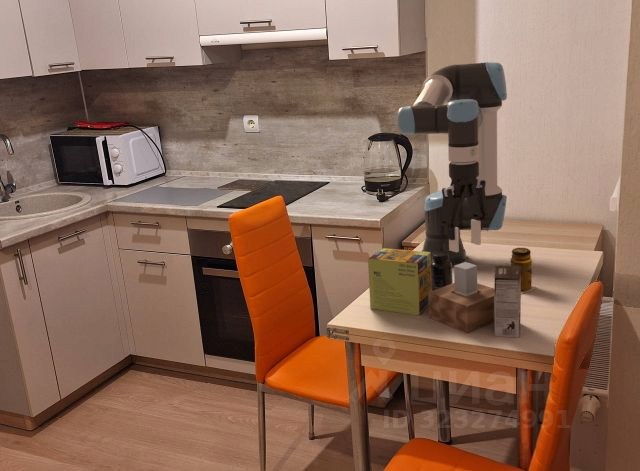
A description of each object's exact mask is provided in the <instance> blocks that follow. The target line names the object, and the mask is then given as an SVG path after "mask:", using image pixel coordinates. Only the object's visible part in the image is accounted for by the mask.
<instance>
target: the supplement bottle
mask: <svg viewBox="0 0 640 471" xmlns="http://www.w3.org/2000/svg"><path fill="white" fill-rule="evenodd" d="M448 259H449V257H448V253H447V252H445V251H436V252H433V253H432V260H433V261H432V262H431V284H432V291H434V290H436V289H439V288H442V287H445V286H447V285H450V284H453V283H454V279H453V278H454V277H453V264H451V262H450V261H448Z"/></svg>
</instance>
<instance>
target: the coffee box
mask: <svg viewBox="0 0 640 471" xmlns="http://www.w3.org/2000/svg"><path fill="white" fill-rule="evenodd" d="M493 279H494V281H493V282H494V284H493V286H494V287H493V288H494V307H495V322H494V337H503V338H520V337H521V317H522V316H521V305H522V304H521V303H522V302H521V299H522V298H521V296H522V294H521V268H520V266H510V265H504V264H503V265H495V268H494V278H493Z"/></svg>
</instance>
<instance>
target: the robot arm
mask: <svg viewBox="0 0 640 471" xmlns="http://www.w3.org/2000/svg"><path fill="white" fill-rule="evenodd" d="M421 86H422V87H421V92H420V94H419V96H417V99H416V100H415V101H414V103H413V105H407V106H402V107H400V108H398V111H397V128H398V131H399V133H400V134H401V135H411V136H414V135H434V134H435V135H436V134H447V135H448V143H447V144H448V146H447V148H448V149H447V150H448V152H447V153H448V161H449V163H448V176H449V178H450V179H451V182H450V185H449V187H443V188H442V189H441V191H437V192H433V193H431V194H429V195H427V196H426V197H425V199H424V209H423V211H424V224H425V225H424V226H425V227H424V228H425V239H424V243H423V247H422V250H421V251H422V252H431V253H430V254H431V262H432V261H433V260H432V253H433V252H436V251H445V252H447V253H448V257H449V259H448V261H450V262H451V264H452V265H458V264H461V263H464V262H465V260H466V258H467V252H466V249H465V248H464V244H463V241H462V238H461V231H470V244H474V245H477V246H481V244H482V242H481V240H482V238H481V236H482V235H481V234H482V231H487V232H490V231H499V230H502V228H503V226H504V221H505V220H504V219H505V215H506V206H507V199H508V196H507V195H505V194H503V189H502V188H501V187H500V186H499V185H498V111H499V110H500V109H501V108H502V107H503V101H506V100H507V98H508V96H507V95H508V94H507V93H508V92H507V82H506V76H505V70H504V67H503V65H502V64H501V63H500V62H487V61H485V62H478V63H464V64H451V65H447V66H444V67H442V68H440V69H437V70H436V71H434V72H433V73H431V74H430V75H429V76H427V78H426V79H425V80H424V82H423V83H422V85H421Z"/></svg>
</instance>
